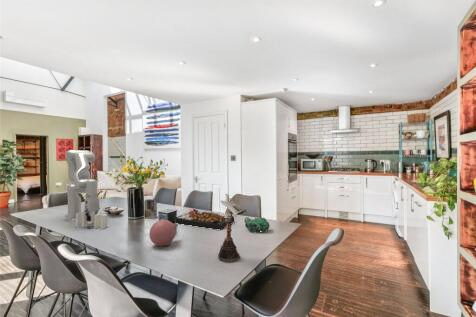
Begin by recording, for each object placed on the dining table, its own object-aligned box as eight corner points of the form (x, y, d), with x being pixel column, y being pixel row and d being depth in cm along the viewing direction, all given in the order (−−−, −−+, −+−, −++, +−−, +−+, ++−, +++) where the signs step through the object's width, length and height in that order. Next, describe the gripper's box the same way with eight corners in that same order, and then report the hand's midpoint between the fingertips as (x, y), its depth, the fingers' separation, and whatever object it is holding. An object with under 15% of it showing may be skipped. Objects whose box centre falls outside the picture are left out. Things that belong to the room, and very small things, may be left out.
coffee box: (157, 217, 214) (157, 199, 213) (153, 219, 207) (154, 200, 207) (147, 216, 214) (147, 199, 214) (143, 218, 208) (144, 200, 208)
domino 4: (94, 228, 177) (94, 215, 177) (99, 226, 182) (99, 213, 181) (96, 228, 176) (96, 215, 176) (101, 226, 181) (101, 213, 181)
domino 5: (100, 228, 175) (100, 215, 175) (105, 227, 180) (105, 213, 180) (102, 229, 175) (102, 215, 175) (107, 227, 180) (107, 214, 180)
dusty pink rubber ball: (186, 242, 151) (186, 218, 151) (159, 252, 135) (160, 225, 135) (170, 237, 160) (170, 214, 160) (144, 246, 144) (144, 220, 144)
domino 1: (75, 226, 180) (75, 213, 180) (81, 225, 185) (81, 212, 185) (77, 227, 180) (77, 213, 180) (83, 225, 185) (83, 212, 185)
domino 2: (81, 227, 179) (81, 214, 179) (87, 225, 184) (87, 212, 184) (83, 227, 179) (83, 214, 178) (89, 225, 183) (89, 212, 183)
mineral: (249, 235, 164) (249, 221, 164) (241, 229, 179) (241, 216, 179) (272, 232, 171) (273, 219, 171) (262, 226, 186) (262, 214, 186)
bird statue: (252, 257, 129) (253, 192, 129) (241, 266, 118) (241, 196, 118) (227, 250, 137) (227, 190, 137) (213, 259, 126) (214, 193, 126)
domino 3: (88, 223, 178) (88, 210, 178) (93, 222, 182) (93, 209, 182) (90, 223, 177) (90, 210, 177) (95, 222, 182) (95, 209, 182)
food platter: (172, 223, 195) (172, 211, 195) (189, 217, 217) (189, 205, 217) (220, 231, 176) (220, 217, 176) (234, 222, 199) (234, 210, 199)
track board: (71, 228, 178) (71, 227, 178) (81, 225, 187) (81, 224, 187) (102, 231, 173) (102, 230, 173) (111, 227, 182) (111, 226, 182)
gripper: (86, 198, 171) (86, 223, 171) (104, 194, 187) (104, 217, 187) (77, 197, 172) (77, 222, 172) (96, 194, 189) (96, 217, 189)
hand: (91, 219), depth 180 cm, fingers closed on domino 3, 4 cm apart
